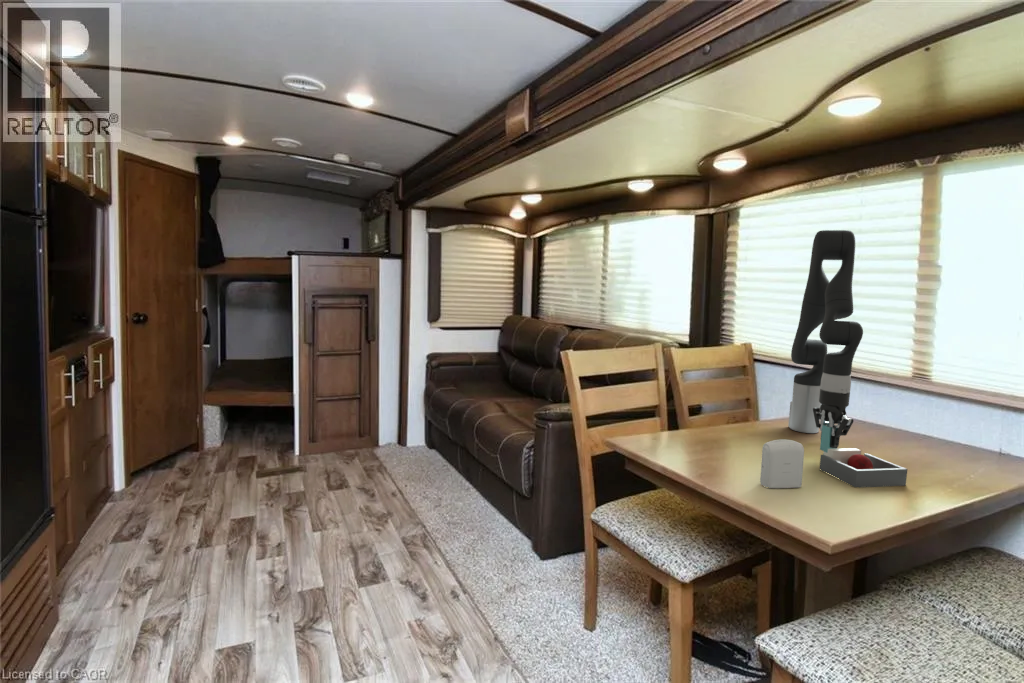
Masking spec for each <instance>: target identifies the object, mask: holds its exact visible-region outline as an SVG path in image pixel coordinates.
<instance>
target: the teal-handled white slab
mask: <svg viewBox="0 0 1024 683" xmlns="http://www.w3.org/2000/svg"><path fill="white" fill-rule="evenodd" d="M836 432H837V428H836ZM830 438H831V428H830V426H829V425H822V434H821V433H820V443H819V444H820V445H819V450H820V451H823V453H822V455H826V456H828V457H830V458H833V459H835V460H837V461H840V462H842V463H844V464H846V465H847V461H848V459H849V458H850V457H851V456H852V455H855V454H861V455H862V449H859V448H856V447H853V448H852V447H847V448H845V447H843V448H842V447H841V448H839V447H838V448H831V447H830Z"/></svg>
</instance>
